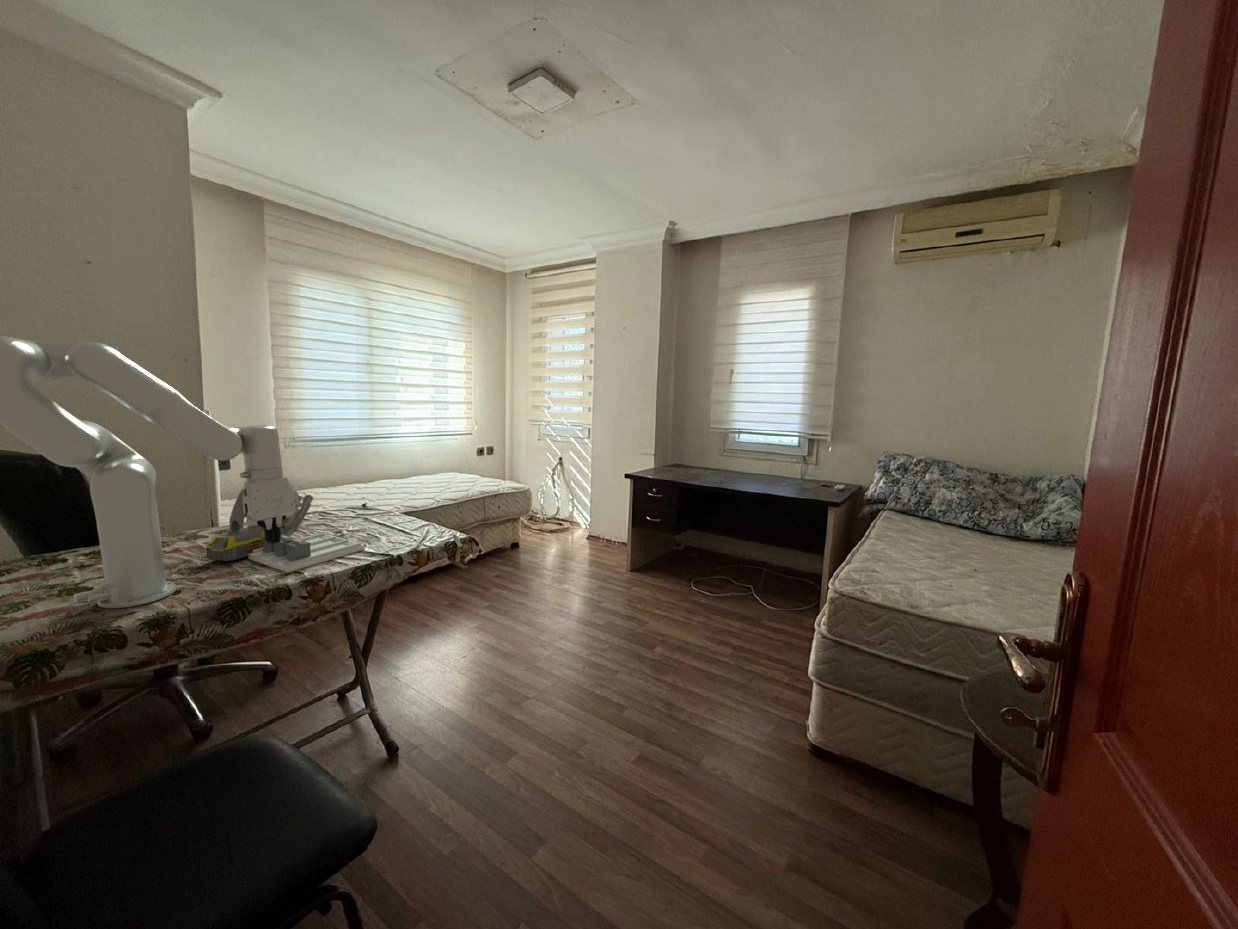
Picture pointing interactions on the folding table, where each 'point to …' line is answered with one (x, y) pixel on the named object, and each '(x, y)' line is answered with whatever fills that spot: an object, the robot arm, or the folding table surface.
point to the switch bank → (320, 551)
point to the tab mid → (282, 545)
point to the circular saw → (252, 531)
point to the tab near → (298, 550)
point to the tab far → (267, 545)
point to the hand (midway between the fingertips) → (273, 541)
